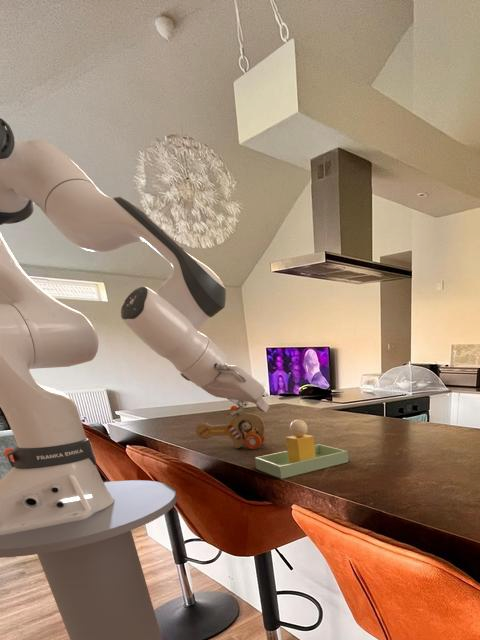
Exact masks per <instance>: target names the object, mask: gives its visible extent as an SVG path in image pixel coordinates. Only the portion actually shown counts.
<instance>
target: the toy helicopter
mask: <svg viewBox="0 0 480 640" xmlns="http://www.w3.org/2000/svg"><path fill="white" fill-rule="evenodd" d="M229 410H230V412H228V413H227V414H225V415H224V416H222V418H225V417H227V416H228V415H231V417H233V418H232V419H231V420H230V421H229V422H228V423H225V424H216V425H212V424H210V423H207V422H201V423H199V424H197V426H196V428H195V433H196V435H197V436H198V437H199V438H200V439H202V440H208V439H210V438H211V437H213V436H227V437H229V439H230V440H232V442H233V447H234V448H235V449H240V448H241V447H244V446H245V447H247V448H248V449H250V450H257V449H259V448H260V447H261V446H262V444H263V443H265V441H266V435H265V433H266V426H265V425H266V423H265V421H264V419H263V418H262V417H261V416H260V415H258V414H256V413H252V412H244V413H241V412H243V408H240V407H239V406H238V405H232V406H230V408H229Z"/></svg>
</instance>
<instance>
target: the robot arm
mask: <svg viewBox="0 0 480 640" xmlns="http://www.w3.org/2000/svg"><path fill="white" fill-rule="evenodd" d="M35 205H36V206H37V207H38V208H39V209H40V210H41V211H42V213H44V215H45V217H47V219H48V220H49V221H50V222H51V223H52V225H53V226H54V227H55V228H56V229H57V231H59V232H60V234H62V235H63V236H64V237H65V238H66V240H68V241H69V242H70V243H71V244H73V245H75V246H76V247H78V248H81V249H83V250H85V251H90V252H95V253H107V252H111V251H114V250H115V251H116V250H118V249H120V248H122V247H124V246H127V245H129V244H133V243H138V242H143V243H144V242H145V243H147V245H149V246H150V247H151V248H152V249H153V250H154V251H156V253H158V255H160V256H161V257H162V258H163V259H164V260H166V261H167V262H168V263H169V264H170V265H171V266H172V272H171V274H170V276H169V277H168V278H167V279H166V280H165V281H164V282H163V283H162V284H161V285H159V287H158V288H157V289H156V290H155V291H154V290H153V289H151V288H150V287H147V286H140V287H137V288H135V289H134V290H133V291H131V292H129V294H128V296H126V298H125V299H124V301H123V303H122V305H121V308H120V319H121V320H122V321H123V323H124V324H125V325H126V326H127V327H128V328H129V329H130V330H131V331H132V333H133V334H135V336H137V338H139V339H140V340H141V342H143V343H144V344H145V345H146V346H148V347H149V349H151V350H152V351H154V352H155V353H156V354H157V355H158V356H160V357H162V358H164V359H166V360H167V361H169V362H170V363H171V364H172V365H173V367H174V368H175V369H176V370H177V371H178V372H179V375H180V376H181V377H182V378H183V379H184V380H186V381H188V382H192V383H193V384H194V385H196V386H197V387H198V388H201V390H204V391H205V392H206V393H207V394H209V395H211V396H213V397H214V398H220V399H221V398H222V399H227V400H228V401H230V402H231V403H233V404H235V405H236V406H237V407H240V408H241V409H246V407H247V406H248V404H249V403H252V404H254V405H255V406H256V409H258V410H259V411H260V412H264V413H266V412H268V410H269V408H270V405H269V403H267V402H266V401H265V399H264V397H263V396H264V394H265V392H266V389H265V387H264V385H263V384H261V382H260V381H258V380H257V379H255V378H254V377H253V376H252V375H251V374H249V372H247V371H246V370H245V369H244V368H241V367H240V366H238V365H234V364H233V365H232V364H228V363H227V360H228V356H227V354H226V353H225V352H224V351H223V350H222V349H221V348H220V346H218V345H217V344H215V342H213V340H211V339H210V338H209V336H207V335H205V334H204V333H202V332H200V331H199V329H200V328H201V327H202V326H204V324H205V323H207V321H209V319H211V318H213V317H214V316H216V315H217V314H218V313H219V312H221V311H222V310H223V309H224V308H225V307H226V299H227V291H226V286H225V285H224V283H223V282H222V279H220V277H219V276H218V275H217V274H216V273H215V272H214V271H213V270H212V269H211V268H210V267H208V266H207V265H206V264H204V263H203V262H201V261H199V260H198V259H196V258H195V257H194V256H193V255H192V254H190V252H188V251H187V250H186V249H185V248H184V247H183V246H182V245H180V243H178V241H177V240H175V239H174V238H173V237H172V236H171V235H170V234H168V233H167V231H166V230H164V229H163V228H162V227H161V226H159V225H158V224H157V223H156V222H155V221H154V220H153V219H152V218H150V217H149V216H148V215H147V214H146V213H145V212H144V211H142V210H141V209H140V208H139V207H138V206H137V205H135V204H134V203H132V202H131V201H130V200H128V199H126V198H124V197H122V196H115V197H111V196H108V195H107V194H104V193H103V192H102V191H101V190H100V189H99V188H98V187H97V185H96V184H95V182H93V181H92V180H91V179H90V178H89V177H88V175H87V174H86V173H85V172H84V171H83V170H82V169H81V168H80V167H79V165H77V164H76V163H75V162H74V161H73V160H72V159H71V158H70V157H69V156H67V155H66V153H64V152H63V151H62V150H60V148H58V147H57V146H56V145H54V144H52V143H51V142H48V141H45V140H41V139H30V140H27V141H21V140H18V139H16V138H15V136H14V132H13V130H12V128H11V125H10V124H9V123H8V122H6V121H5V120H4V119H2V118H1V117H0V226H2V225H10V224H12V225H13V224H17V223H20V222H23V221H26V220H27V219H29V218H30V217H31V216H32V215H33V213H34V211H35ZM98 336H99V335H98V333H97V330H96V329H95V327H94V325H93V323H92V322H91V320H89V319H88V318H87V317H86V316H85V315H84V314H83V313H82V312H80V311H78V310H77V309H76V310H75V309H74V308H71V307H69V306H67V305H65V304H64V303H62V302H60V301H59V300H57V299H56V298H54V297H53V296H51V295H50V294H49V293H48V292H46V291H45V290H44V289H42V287H41V286H39V285H38V284H37V283H36V282H35V281H34V280H33V279H32V278H31V277H30V276H28V274H27V273H26V271H24V269H23V268H22V267H21V266H20V264H19V262H18V261H17V259H16V256H14V254H13V252H12V251H11V249H10V248H9V246H8V244H7V242H6V241H5V239H4V237H3V235H2V233H1V232H0V409H1V410H2V412H3V414H4V416H5V418H6V421H7V423H8V425H9V427H10V430H11V432H12V434H13V437H14V439H15V442H16V445H17V446H16V447H15V448H13V447H6V448H5V449H4V450H3V455H4V458H6V459H7V460H8V463H9V465H10V466H11V469H10V470H9V471H8V472H7V473H6V474H5V475H4V476H3V477H1V479H0V535H6V534H11V533H16V532H21V531H27V530H32V529H37V528H42V527H47V526H53V525H58V524H63V523H68V522H74V521H79V520H83V519H86V518H88V517H90V516H91V515H93V514H94V513H96V512H98V511H100V510H102V509H105V508H107V507H108V506H110V505H111V504H112V503H113V502H114V499H113V497H112V496H111V494H110V493H109V491H108V490H107V488H106V486H105V484H104V483H103V482H104V480H103V479H102V477H101V474H100V472H99V469H98V468H97V457H96V455H95V451H94V448H93V445H92V443H91V440H90V439H89V438H88V437H87V436H86V433H85V430H84V426H83V423H82V422H83V421H82V420H81V419H82V418H81V416H80V413H79V409H78V405H77V404H76V403H75V401H74V400H73V399H72V398H71V396H69V395H67V394H65V393H64V392H61V391H59V390H56V389H54V388H50V387H47V386H43V385H41V384H39V382H37V380H35V378H34V377H33V376H32V375H33V374H31V370H32V369H33V370H34V369H52V368H54V369H55V368H69V367H73V366H76V365H81V364H86V363H88V362H92V361H93V360H94V359H95V358H96V356H97V353H98V351H99V337H98Z"/></svg>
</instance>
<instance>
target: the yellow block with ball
mask: <svg viewBox="0 0 480 640" xmlns="http://www.w3.org/2000/svg"><path fill="white" fill-rule="evenodd" d="M308 431H309V430H308V425H307V423H306V422H305V421H304V420H303V419H294V420H293V421H292V422H291V423H290V425H289V432H290V433H291V436H285V443H286V448H287V450H286V451H288V458H289V464H290V463H295V462H299V461H303V460H308V459H312V458H316V456H315V446H314V445H315V436H314V435H310V434H307V433H308Z"/></svg>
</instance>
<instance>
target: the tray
mask: <svg viewBox="0 0 480 640" xmlns="http://www.w3.org/2000/svg"><path fill="white" fill-rule="evenodd" d="M314 446H315V456H316V458H312V459H308V460H303V461H299V462H295V463H290V464H289V458H288V450H284V451H279V452H275V453H270V454H264V455H260V456H255V457H254V463H255V469H256V470H258V471H260V472H263V473H266V474H268V475H271V476H273V477H276V478H278V479H280V480H283V479H286V478H290V477H295V476H299V475H303V474H306V473H310V472H314V471H319V470H323V469H326V468H330V467H335V466H338V465H343V464H347V463H349V454H348V450H345V449H341V448H337V447H333V446H329V445H326V444H320V443H317V444H314Z"/></svg>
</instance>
